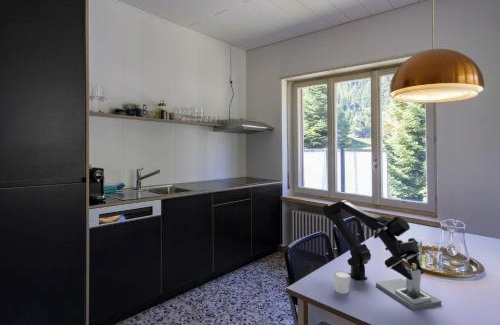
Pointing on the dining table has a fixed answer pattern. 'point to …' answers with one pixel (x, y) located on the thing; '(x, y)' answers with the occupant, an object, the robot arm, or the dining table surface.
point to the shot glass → (342, 282)
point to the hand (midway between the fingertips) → (417, 276)
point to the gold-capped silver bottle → (413, 282)
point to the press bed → (399, 292)
